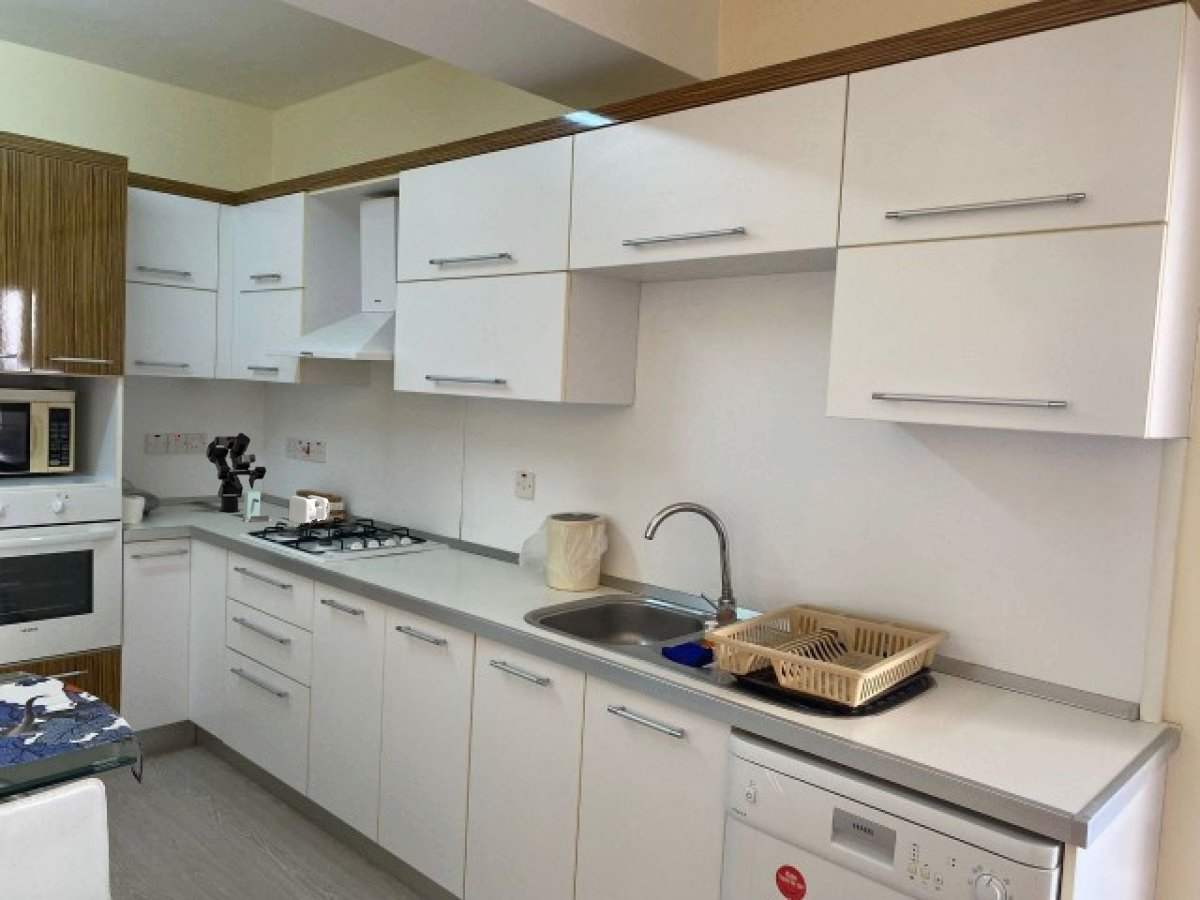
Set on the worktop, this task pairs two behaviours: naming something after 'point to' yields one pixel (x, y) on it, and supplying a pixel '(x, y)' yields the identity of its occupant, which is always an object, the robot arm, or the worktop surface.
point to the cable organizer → (307, 509)
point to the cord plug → (252, 504)
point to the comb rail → (258, 518)
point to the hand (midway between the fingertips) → (246, 488)
